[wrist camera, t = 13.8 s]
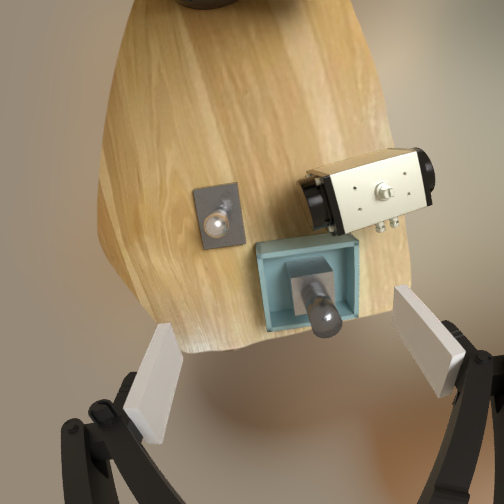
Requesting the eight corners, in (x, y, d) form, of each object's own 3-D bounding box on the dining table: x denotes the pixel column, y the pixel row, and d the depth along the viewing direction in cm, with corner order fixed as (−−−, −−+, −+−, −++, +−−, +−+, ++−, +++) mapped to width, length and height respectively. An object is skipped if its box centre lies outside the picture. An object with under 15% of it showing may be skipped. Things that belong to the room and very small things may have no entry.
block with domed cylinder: (289, 295, 53) (304, 349, 38) (285, 261, 51) (300, 308, 36) (325, 289, 53) (351, 340, 38) (323, 255, 51) (351, 298, 36)
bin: (255, 242, 51) (256, 254, 45) (347, 230, 50) (358, 240, 45) (265, 314, 55) (267, 332, 50) (348, 301, 55) (358, 317, 49)
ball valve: (300, 221, 50) (326, 258, 33) (285, 172, 47) (306, 184, 30) (394, 191, 48) (453, 213, 31) (383, 144, 45) (442, 146, 29)
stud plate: (194, 188, 48) (183, 196, 40) (237, 181, 48) (234, 188, 39) (205, 246, 51) (197, 265, 43) (246, 241, 51) (245, 259, 43)
